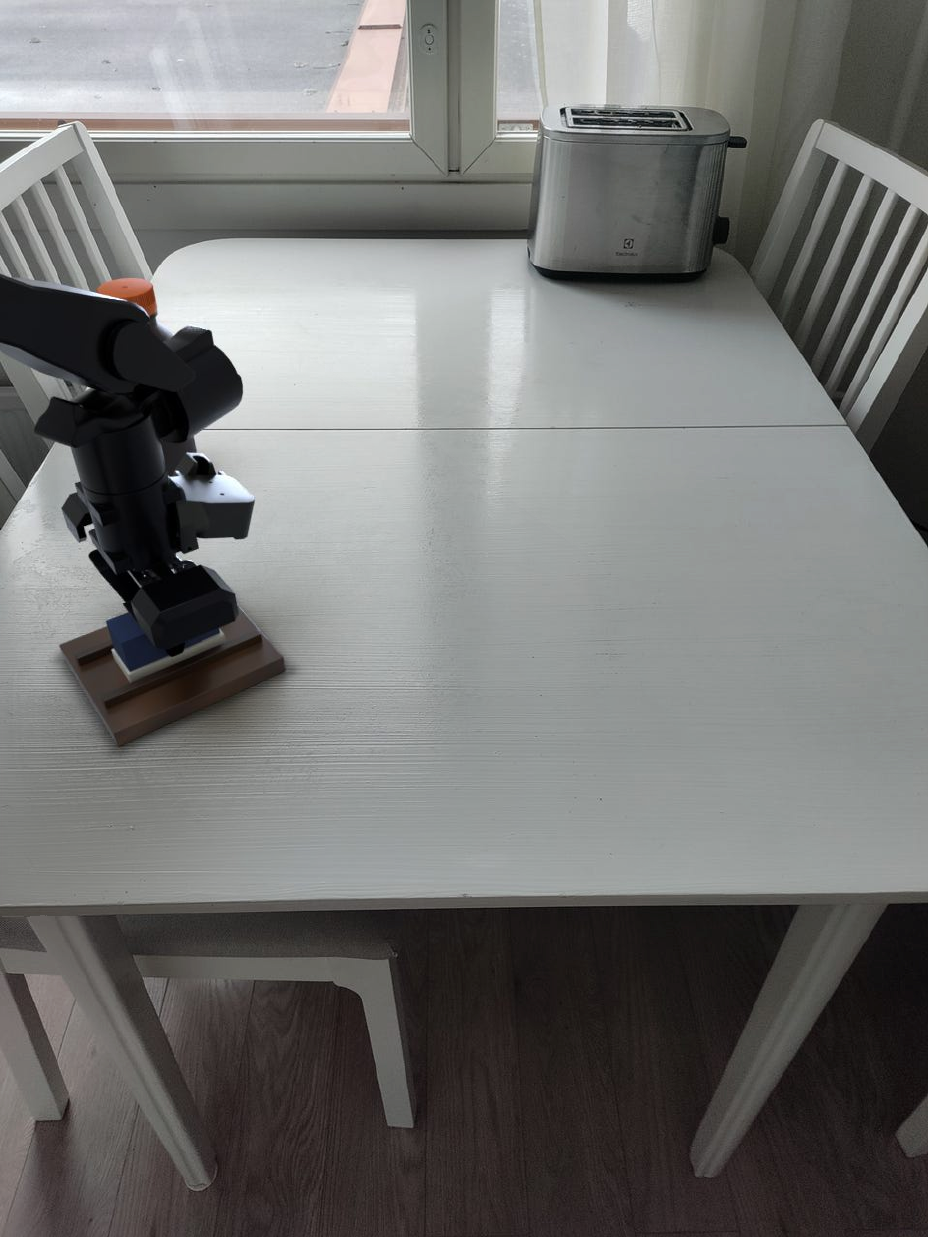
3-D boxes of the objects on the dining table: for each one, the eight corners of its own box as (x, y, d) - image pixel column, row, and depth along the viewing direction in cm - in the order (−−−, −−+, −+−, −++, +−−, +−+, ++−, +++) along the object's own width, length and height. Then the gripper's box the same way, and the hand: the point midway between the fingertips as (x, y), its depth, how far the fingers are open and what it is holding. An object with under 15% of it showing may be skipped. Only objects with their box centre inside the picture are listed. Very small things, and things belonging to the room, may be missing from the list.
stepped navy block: (131, 684, 74) (119, 645, 71) (113, 658, 76) (101, 620, 73) (226, 643, 77) (218, 605, 75) (207, 620, 80) (198, 582, 77)
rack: (117, 747, 71) (110, 726, 69) (63, 658, 78) (55, 637, 77) (286, 670, 77) (282, 649, 76) (221, 595, 85) (216, 574, 83)
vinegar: (205, 459, 102) (168, 272, 89) (196, 494, 97) (156, 301, 84) (140, 461, 102) (94, 274, 89) (128, 496, 96) (77, 303, 83)
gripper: (292, 495, 64) (314, 666, 74) (178, 390, 75) (210, 550, 85) (132, 553, 59) (179, 728, 69) (35, 431, 70) (88, 596, 80)
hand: (167, 641), depth 76 cm, fingers closed on stepped navy block, 3 cm apart
